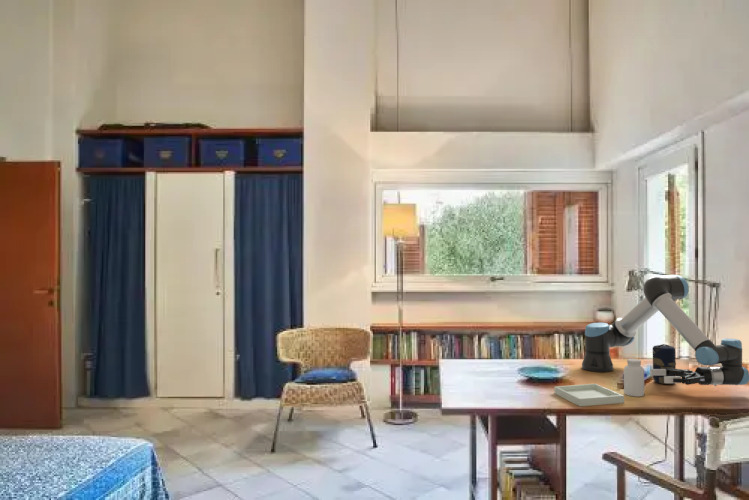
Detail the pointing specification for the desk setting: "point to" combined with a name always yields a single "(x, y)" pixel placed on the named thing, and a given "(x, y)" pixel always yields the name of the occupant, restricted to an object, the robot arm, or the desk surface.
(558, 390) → the tray
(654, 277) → the robot arm
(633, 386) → the pill bottle
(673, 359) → the canister
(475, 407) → the desk surface
